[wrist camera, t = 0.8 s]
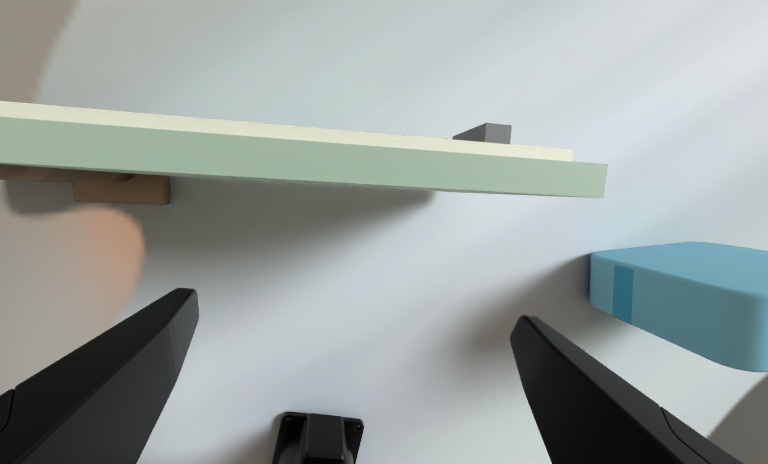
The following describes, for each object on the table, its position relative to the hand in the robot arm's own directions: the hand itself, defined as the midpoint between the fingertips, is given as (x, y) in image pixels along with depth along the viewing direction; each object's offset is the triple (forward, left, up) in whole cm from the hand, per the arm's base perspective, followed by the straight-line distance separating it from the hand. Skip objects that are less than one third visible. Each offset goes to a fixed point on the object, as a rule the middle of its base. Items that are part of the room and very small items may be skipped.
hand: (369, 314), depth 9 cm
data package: (+2, -27, -17) cm, 32 cm away
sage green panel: (+5, +3, -15) cm, 16 cm away
